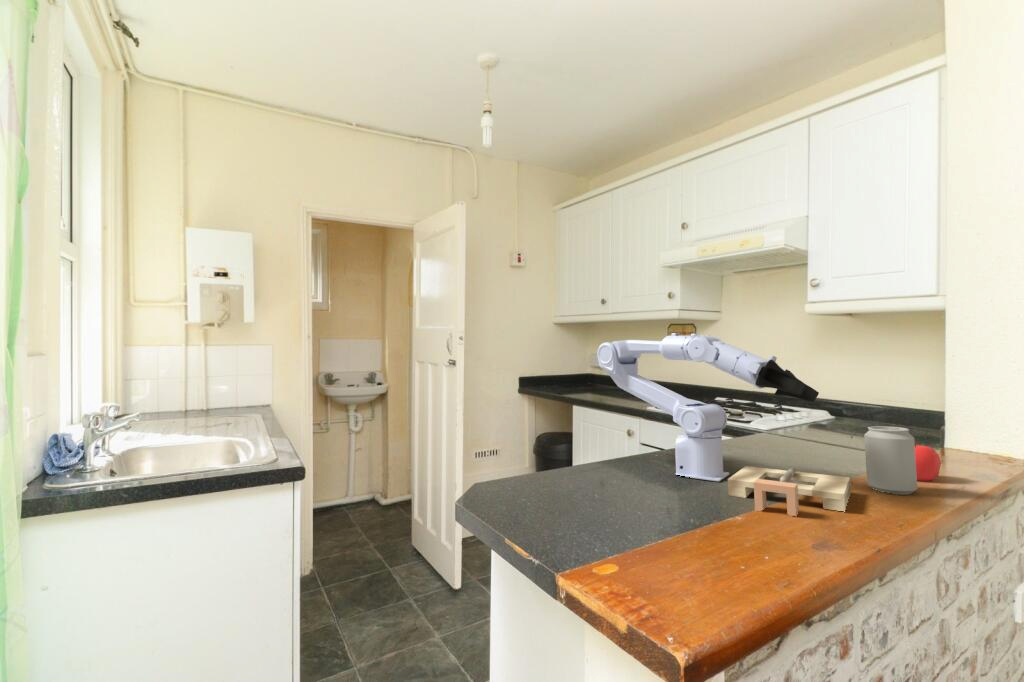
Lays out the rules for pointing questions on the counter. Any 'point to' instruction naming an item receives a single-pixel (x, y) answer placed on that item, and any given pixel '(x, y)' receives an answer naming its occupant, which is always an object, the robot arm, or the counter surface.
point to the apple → (926, 463)
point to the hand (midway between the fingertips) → (809, 393)
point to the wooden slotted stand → (826, 486)
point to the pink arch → (777, 487)
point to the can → (890, 460)
